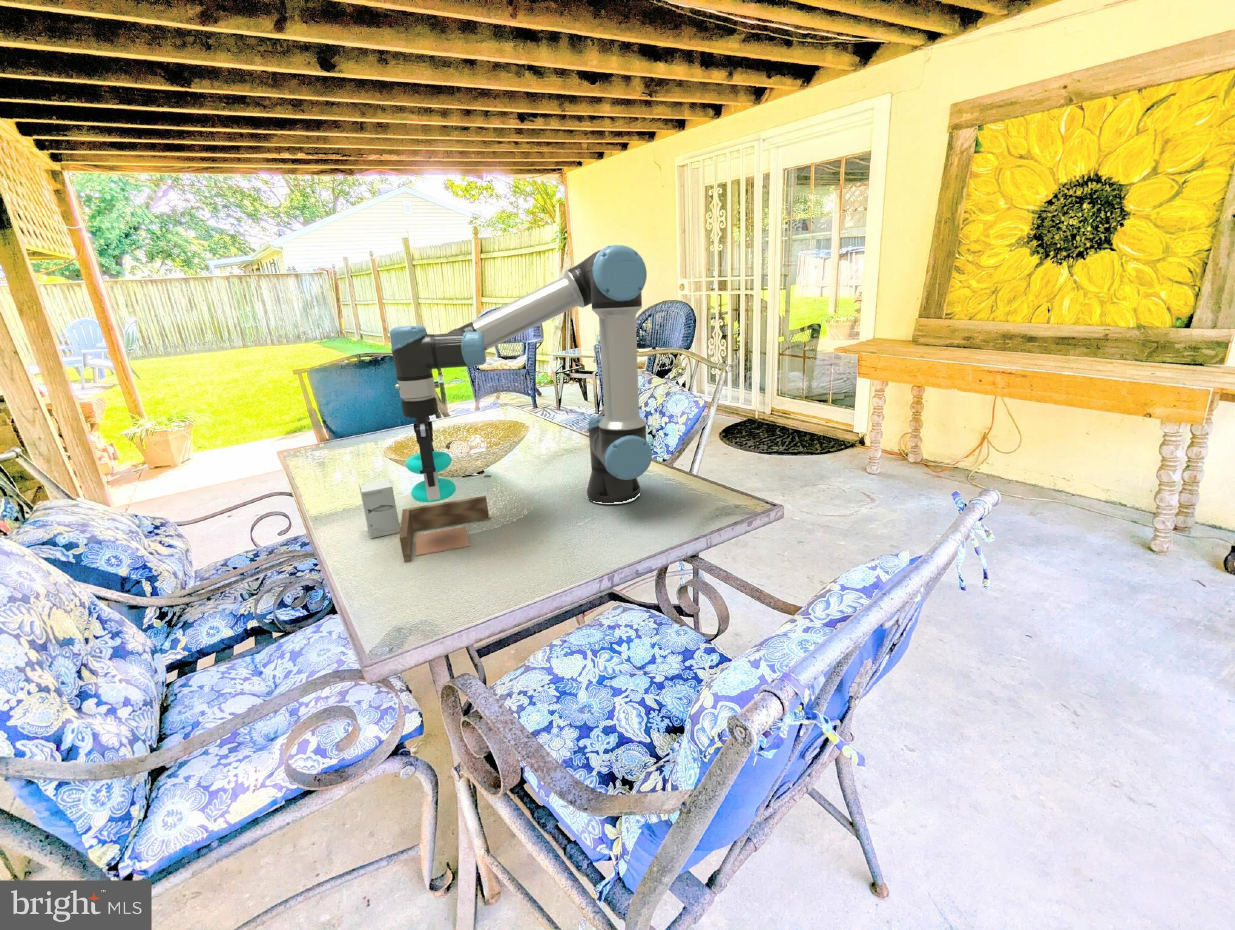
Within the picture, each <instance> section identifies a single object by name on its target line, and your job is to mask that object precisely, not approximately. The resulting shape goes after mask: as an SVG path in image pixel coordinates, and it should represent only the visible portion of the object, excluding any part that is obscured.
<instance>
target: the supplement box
mask: <svg viewBox="0 0 1235 930" xmlns="http://www.w3.org/2000/svg"><path fill="white" fill-rule="evenodd" d="M392 484H393V483H392V482H391V479H390V478H387V479H382V480H376V481H371V482H366V483H365V482H364V483H361V484H359V486H358V487H359V491H360V497H361V502H362V506H363V510H364V517H365V521H366V526H367V530H368V534H369V538H370V540H372V539H375V538H378V537H379V538H380V537H384V536H388V535H392V534H398V533H399V534H400V529H401V523H400V521H399V520H400V519H399V515H398V511H397V505H396V499H395V494H394V489H393V485H392Z"/></svg>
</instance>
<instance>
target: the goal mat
mask: <svg viewBox="0 0 1235 930" xmlns="http://www.w3.org/2000/svg"><path fill="white" fill-rule="evenodd" d="M467 527H468V526H467V525H466V526H464V525H463V526H459V527H454V528H448V529H441V530H435V531H431V532H430V531H429V532H426V533H420V534H416V544H415V548H416V549H415V557H420V556H426V555H429V554H436V553H441V552H442V553H443V552H447V551H452V550H456V549H457V550H458V549H463V548H468V547H471V546H470V540H469V534H468V528H467Z"/></svg>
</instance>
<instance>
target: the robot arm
mask: <svg viewBox="0 0 1235 930" xmlns="http://www.w3.org/2000/svg"><path fill="white" fill-rule="evenodd" d="M647 271H648V270H647V266H646V263H645V261H644V259H643V257H642V256H641V255H640V254H639V253H638V252H637V251H636V250H635V249H634V248H632V247H630V246H627V245H625V244H624V245H623V244H614V245H613V244H612V245H607V246H605V247H603V248H602V249H599V250H597V251H595V252H594V253H592V254H591V255H589V256H588V257H586V258H585V259H584V260H582V261H581V262H579V263H578V264H576V265H574V266H573V267H571V268H569V269H567V270H565V271H564V274H563V277H560V278H558V279H556V280H554V281H552V282H550V283H548V284H546V285H543V286H541V287H540V288H538V289H536V290H533V291H532V292H530V293H528V294H525V295H523V296H521V297H519V298H518V299H515V300H513V301H511V302H509V303H507V304H505V305H503V306H501V307H498V308H497V309H495V310H492V311H490V312H489V313H487V314H484V315H482V316H480V317H478V318H476V319H474V320H472V321H471V322H468V323H465V324H464V325H462V326H460V327H457V328H453V329H451V330H450V331H448V332H446V333H437V334H434V333H433V334H432V333H428V331H427V329H426V327H425V326H423V325H406V326H397V327H395V326H394V327H393V328H391V329H390V331H389V337H390V345H391V346H390V347H391V348H390V349H391V354H392V358H393V359H392V360H393V364H394V371H395V375H396V380H397V383H398V384H395V386H394V387H395V389H396V390H398V391H399V396H400V398H401V399H402V400H401V402H400V403H401V409H402V415H403V417H405V418H407V419H415V421H416V422H413V426H412V427H413V431H414V433H415V438H416V444H418V446H419V453H420V455H421V461H422V468H423V469H422V470H421V471H420V474H419V475H423V479H424V480H425V486H426V492H427V498H428V500H434V499H440V492H439V486H438V480H437V478H440V477H439V472H437V473H436V468H435V466H434V459H433V452H432V451H435V449H434V443H433V442H434V434H433V432H434V429H433V422H432V420H430V417H432V416H435V415H437V414H438V413H439V407H438V405H439V404H438V401H437V397H436V396H435V395H436V394H437V391H436V385H435V378H434V375H433V370H439V369H450V368H451V369H453V368H465V367H466V368H467V367H469V368H473V367H478V366H483V365H485V364H486V362H487V355H486V351H488V350H489V349H492V348H494V347H496V346H498V345H499V344H502V343H504V342H506V341H508V340H510V339H513V338H515V337H516V336H518V335H520V334H523V333H524V332H526V331H529V330H531V329H533V328H535V327H538V326H539V325H541V324H542V323H545V322H546V321H549V320H551V319H553V318H556V317H558V316H560V315H561V314H563V313H565V312H568V311H570V310H571V309H574V308H576V307H579V308H585V307H587V306H589V305H591V311H593V313H595V314H596V315H597V317H598V323H599V325H598V326H599V340H600V357H601V358H600V361H601V374H602V375H601V376H602V377H601V378H602V380H601V381H602V394H603V395H602V396H603V411H604V413H603V414H604V415H601V416H595V417H592V418H590V419H589V421H588V425H587V426H588V427H587V431H588V438H589V439H588V441H589V451H590V464H591V466H590V467H591V472H590V476H589V481H588V485H587V488H586V495H587V496H588V498H589V499H590V500H592V501H595V502H602V503H614V502H623V501H627V500H629V499H632V498H635V497H636V496H637V495H638V494H639V493H640V490H641V485H640V482H639V480H638V477H641V476H642V475H644V473H645V472H646V471H647V470H648V469H649V467H650V465H651V462H652V459H653V452H652V448H651V446H650V444H649V443H650V442H648V441H647V426H646V425H647V424H646V423H647V422H646V421H645V420H644V418H642V417H641V416H640V402H639V401H640V400H639V399H640V398H639V376H638V375H639V370H638V368H639V367H638V366H639V365H638V342H637V341H638V340H637V338H638V337H637V314H638V313H639V312H640V310H641V309H642V308H643V304H642V302H643V301H642V300H643V299H642V291H643V289H644V288H645V285H646V282H647V273H648V272H647ZM426 466H430V467H426ZM424 480H423V481H424ZM588 498H587V499H588Z"/></svg>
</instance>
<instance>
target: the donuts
mask: <svg viewBox="0 0 1235 930" xmlns="http://www.w3.org/2000/svg"><path fill="white" fill-rule="evenodd" d="M432 452H433V459H434V466H435V468H436V473H437V472H438V473H440V472H443V471H444V470H446V469H448V467H449V466H451V463H452V456H451V455H450V454H449V453H447V452H446V451H441V450H434V451H432ZM405 463H406V464H405V467H406V468H407V470H408V471H410V473H413V474H417V475H421V474H420V471H421V470H422V469H423V468H422V461H421V455H420V452H419V453H416V454H414V455H411V456H409V458H408V459H406V462H405ZM426 467H430V466H426ZM437 480H438V486H439V492H440V499H434V500H428V498H427V492H426V486H425V480H422V481H420V482H417V483H415V485H414V486H413V487H412V488H411V493H410V494H411V497H412V498H413V499H414V501H416V502H418V503H419V502H420V503H434V502H436V503H437V502H440V501H443V500H447V499H449V498H450V497H453V495H454V494H455V493H456V490H457V487H456V484H455V483H454V481H452V480H451V479H448V478H445V477H443V478H442V477H439V478H437Z"/></svg>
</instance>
